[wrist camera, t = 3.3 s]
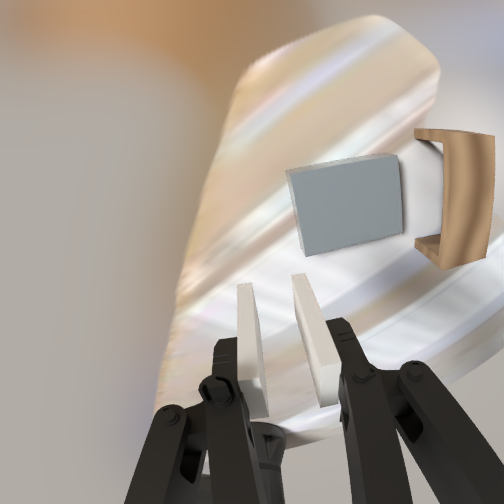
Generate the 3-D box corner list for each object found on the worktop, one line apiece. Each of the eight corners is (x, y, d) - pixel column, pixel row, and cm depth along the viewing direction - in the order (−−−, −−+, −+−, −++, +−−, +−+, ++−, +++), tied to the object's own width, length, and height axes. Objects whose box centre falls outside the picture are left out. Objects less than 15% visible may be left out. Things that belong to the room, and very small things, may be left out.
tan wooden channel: (414, 247, 33) (442, 270, 27) (414, 128, 27) (449, 132, 20) (456, 238, 33) (485, 257, 27) (459, 130, 26) (494, 136, 20)
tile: (300, 245, 33) (305, 257, 30) (285, 170, 29) (289, 174, 26) (390, 224, 32) (402, 232, 29) (384, 152, 28) (397, 155, 26)
